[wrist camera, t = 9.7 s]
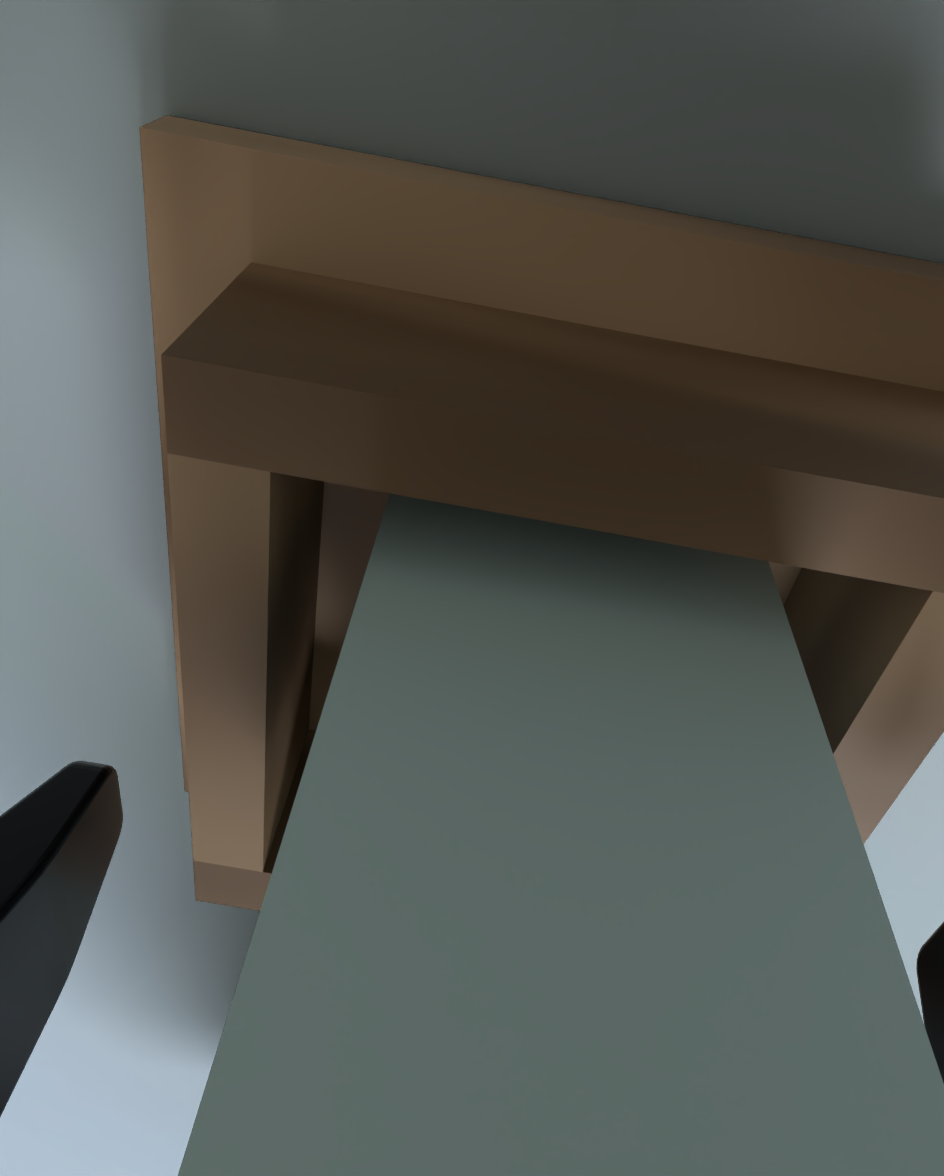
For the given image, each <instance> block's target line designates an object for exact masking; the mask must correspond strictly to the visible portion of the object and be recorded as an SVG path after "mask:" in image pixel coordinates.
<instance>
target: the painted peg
mask: <svg viewBox="0 0 944 1176" xmlns="http://www.w3.org/2000/svg"><path fill="white" fill-rule="evenodd" d="M178 1176H944V1083H943V1080H942V1077H941V1074H940V1071H939V1068H938V1065H937V1062H936V1059H935V1056H934V1053H933V1050H932V1047H931V1044H930V1041H929V1038H928V1035H927V1032H926V1029H925V1026H924V1023H923V1020H922V1017H921V1014H920V1011H919V1008H918V1005H917V1003H916V1000H915V997H914V994H913V991H912V988H911V985H910V982H909V979H908V976H907V973H906V970H905V967H904V964H903V961H902V958H901V955H900V952H899V949H898V946H897V943H896V940H895V937H894V934H893V931H892V928H891V925H890V922H889V919H888V916H887V913H886V910H885V907H884V904H883V901H882V898H881V895H880V892H879V889H878V886H877V883H876V880H875V877H874V874H873V872H872V869H871V866H870V863H869V860H868V857H867V854H866V851H865V848H864V845H863V842H862V839H861V836H860V833H859V830H858V827H857V824H856V821H855V818H854V815H853V812H852V809H851V806H850V803H849V800H848V797H847V794H846V791H845V788H844V785H843V782H842V779H841V776H840V773H839V770H838V767H837V764H836V761H835V758H834V755H833V752H832V749H831V746H830V743H829V740H828V738H827V735H826V732H825V729H824V726H823V723H822V720H821V717H820V714H819V711H818V708H817V705H816V702H815V699H814V696H813V693H812V690H811V687H810V684H809V681H808V678H807V675H806V672H805V669H804V666H803V663H802V660H801V657H800V654H799V651H798V648H797V645H796V642H795V639H794V636H793V633H792V630H791V627H790V624H789V621H788V618H787V615H786V612H785V609H784V607H783V604H782V601H781V598H780V595H779V592H778V589H777V586H776V583H775V580H774V577H773V574H772V571H771V568H770V565H769V562H768V561H763V560H757V559H751V558H746V557H740V556H735V555H729V554H724V553H718V552H713V551H707V550H701V549H696V548H690V547H685V546H679V545H674V544H668V543H663V542H657V541H651V540H646V539H640V538H635V537H629V536H624V535H618V534H613V533H607V532H601V531H596V530H590V529H585V528H579V527H574V526H568V525H563V524H557V523H552V522H546V521H540V520H535V519H529V518H524V517H518V516H513V515H507V514H502V513H496V512H490V511H485V510H479V509H474V508H468V507H463V506H457V505H452V504H446V503H440V502H435V501H429V500H424V499H418V498H413V497H407V496H402V495H396V494H391V493H390V495H389V498H388V501H387V504H386V508H385V511H384V514H383V517H382V520H381V524H380V527H379V530H378V533H377V537H376V540H375V543H374V546H373V549H372V553H371V556H370V559H369V562H368V566H367V569H366V572H365V575H364V578H363V582H362V585H361V588H360V591H359V594H358V598H357V601H356V604H355V607H354V611H353V614H352V617H351V620H350V623H349V627H348V630H347V633H346V636H345V640H344V643H343V646H342V649H341V652H340V656H339V659H338V662H337V665H336V668H335V672H334V675H333V678H332V681H331V685H330V688H329V691H328V694H327V697H326V701H325V704H324V707H323V710H322V714H321V717H320V720H319V723H318V726H317V730H316V733H315V736H314V739H313V742H312V746H311V749H310V752H309V755H308V759H307V762H306V765H305V768H304V771H303V775H302V778H301V781H300V784H299V788H298V791H297V794H296V797H295V800H294V804H293V807H292V810H291V813H290V816H289V820H288V823H287V826H286V829H285V833H284V836H283V839H282V842H281V845H280V849H279V852H278V855H277V858H276V861H275V865H274V868H273V871H272V874H271V878H270V881H269V884H268V887H267V890H266V894H265V897H264V900H263V903H262V907H261V910H260V913H259V916H258V919H257V923H256V926H255V929H254V932H253V935H252V939H251V942H250V945H249V948H248V952H247V955H246V958H245V961H244V964H243V968H242V971H241V974H240V977H239V981H238V984H237V987H236V990H235V993H234V997H233V1000H232V1003H231V1006H230V1009H229V1013H228V1016H227V1019H226V1022H225V1026H224V1029H223V1032H222V1035H221V1038H220V1042H219V1045H218V1048H217V1051H216V1055H215V1058H214V1061H213V1064H212V1067H211V1071H210V1074H209V1077H208V1080H207V1083H206V1087H205V1090H204V1093H203V1096H202V1100H201V1103H200V1106H199V1109H198V1112H197V1116H196V1119H195V1122H194V1125H193V1129H192V1132H191V1135H190V1138H189V1141H188V1145H187V1148H186V1151H185V1154H184V1157H183V1161H182V1164H181V1167H180V1170H179V1174H178Z"/></svg>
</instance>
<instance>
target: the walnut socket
mask: <svg viewBox="0 0 944 1176" xmlns="http://www.w3.org/2000/svg"><path fill="white" fill-rule="evenodd" d="M139 129H140V143H141V158H142V173H143V187H144V202H145V217H146V231H147V246H148V261H149V275H150V290H151V305H152V319H153V334H154V349H155V363H156V378H157V393H158V407H159V422H160V437H161V451H162V466H163V481H164V495H165V510H166V525H167V539H168V554H169V569H170V583H171V598H172V613H173V627H174V642H175V657H176V671H177V686H178V701H179V715H180V730H181V745H182V759H183V774H184V789H185V791H187V792H189V802H190V818H191V834H192V849H193V865H194V881H195V897H196V900H197V901H203V902H209V903H215V904H221V905H227V906H233V907H239V908H245V909H251V910H257V911H260V910H261V907H262V903H263V900H264V897H265V894H266V890H267V887H268V884H269V881H270V878H271V874H272V871H273V868H274V865H275V861H276V858H277V855H278V852H279V849H280V845H281V842H282V839H283V836H284V833H285V829H286V826H287V823H288V820H289V816H290V813H291V810H292V807H293V804H294V800H295V797H296V794H297V791H298V788H299V784H300V781H301V778H302V775H303V771H304V768H305V765H306V762H307V759H308V755H309V752H310V749H311V746H312V742H313V739H314V736H315V733H316V730H317V726H318V723H319V720H320V717H321V714H322V710H323V707H324V704H325V701H326V697H327V694H328V691H329V688H330V685H331V681H332V678H333V675H334V672H335V668H336V665H337V662H338V659H339V656H340V652H341V649H342V646H343V643H344V640H345V636H346V633H347V630H348V627H349V623H350V620H351V617H352V614H353V611H354V607H355V604H356V601H357V598H358V594H359V591H360V588H361V585H362V582H363V578H364V575H365V572H366V569H367V566H368V562H369V559H370V556H371V553H372V549H373V546H374V543H375V540H376V537H377V533H378V530H379V527H380V524H381V520H382V517H383V514H384V511H385V508H386V504H387V501H388V498H389V495H390V493H391V494H396V495H402V496H407V497H413V498H418V499H424V500H429V501H435V502H440V503H446V504H452V505H457V506H463V507H468V508H474V509H479V510H485V511H490V512H496V513H502V514H507V515H513V516H518V517H524V518H529V519H535V520H540V521H546V522H552V523H557V524H563V525H568V526H574V527H579V528H585V529H590V530H596V531H601V532H607V533H613V534H618V535H624V536H629V537H635V538H640V539H646V540H651V541H657V542H663V543H668V544H674V545H679V546H685V547H690V548H696V549H701V550H707V551H713V552H718V553H724V554H729V555H735V556H740V557H746V558H751V559H757V560H763V561H768V562H769V565H770V568H771V571H772V574H773V577H774V580H775V583H776V586H777V589H778V592H779V595H780V598H781V601H782V604H783V607H784V609H785V612H786V615H787V618H788V621H789V624H790V627H791V630H792V633H793V636H794V639H795V642H796V645H797V648H798V651H799V654H800V657H801V660H802V663H803V666H804V669H805V672H806V675H807V678H808V681H809V684H810V687H811V690H812V693H813V696H814V699H815V702H816V705H817V708H818V711H819V714H820V717H821V720H822V723H823V726H824V729H825V732H826V735H827V738H828V740H829V743H830V746H831V749H832V752H833V755H834V758H835V761H836V764H837V767H838V770H839V773H840V776H841V779H842V782H843V785H844V788H845V791H846V794H847V797H848V800H849V803H850V806H851V809H852V812H853V815H854V818H855V821H856V824H857V827H858V830H859V833H860V836H861V839H862V842H863V844H864V843H865V841H866V840H867V839H868V837H869V836H870V834H871V833H872V832H873V830H874V829H875V827H876V826H877V825H878V823H879V822H880V820H881V819H882V818H883V816H884V815H885V813H886V812H887V810H888V809H889V808H890V806H891V805H892V803H893V802H894V801H895V799H896V798H897V796H898V795H899V794H900V792H901V791H902V789H903V788H904V787H905V785H906V784H907V782H908V781H909V780H910V778H911V777H912V775H913V774H914V773H915V771H916V770H917V768H918V767H919V765H920V764H921V763H922V761H923V760H924V758H925V757H926V756H927V754H928V753H929V751H930V750H931V749H932V747H933V746H934V744H935V743H936V742H937V740H938V739H939V737H940V736H941V735H942V733H943V732H944V264H941V263H936V262H930V261H925V260H920V259H915V258H909V257H904V256H899V255H894V254H889V253H883V252H878V251H873V250H868V249H862V248H857V247H852V246H847V245H842V244H836V243H831V242H826V241H821V240H815V239H810V238H805V237H800V236H795V235H789V234H784V233H779V232H774V231H768V230H763V229H758V228H753V227H748V226H742V225H737V224H732V223H727V222H721V221H716V220H711V219H706V218H701V217H695V216H690V215H685V214H680V213H675V212H669V211H664V210H659V209H654V208H648V207H643V206H638V205H633V204H628V203H622V202H617V201H612V200H607V199H601V198H596V197H591V196H586V195H581V194H575V193H570V192H565V191H560V190H554V189H549V188H544V187H539V186H534V185H528V184H523V183H518V182H513V181H507V180H502V179H497V178H492V177H487V176H481V175H476V174H471V173H466V172H460V171H455V170H450V169H445V168H440V167H434V166H429V165H424V164H419V163H414V162H408V161H403V160H398V159H393V158H387V157H382V156H377V155H372V154H367V153H361V152H356V151H351V150H346V149H340V148H335V147H330V146H325V145H320V144H314V143H309V142H304V141H299V140H293V139H288V138H283V137H278V136H273V135H267V134H262V133H257V132H252V131H246V130H241V129H236V128H231V127H226V126H220V125H215V124H210V123H205V122H199V121H194V120H189V119H184V118H179V117H173V116H168V115H166V116H164V117H162V118H159V119H157V120H155V121H153V122H150V123H148V124H146V125H143V126H141V127H139Z"/></svg>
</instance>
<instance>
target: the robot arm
mask: <svg viewBox="0 0 944 1176" xmlns="http://www.w3.org/2000/svg"><path fill="white" fill-rule="evenodd" d="M122 822H123V812H122V805H121V797H120V790H119V783H118V776H117V772H116V770H115V769H114V768H113V767H112V766H109V765H104V764H98V763H93V762H87V761H76V762H72V763H70V764H68V765H67V766H65V767H64V768H63V769H61V770H60V771H59V772H58V773H56V774H55V775H54V776H52V777H51V778H50V779H48V780H47V781H46V782H44V783H43V784H42V785H40V786H39V787H38V788H36V789H35V790H34V791H33V792H31V793H30V794H29V795H27V796H26V797H25V798H23V799H22V800H21V801H19V802H18V803H17V804H15V805H14V806H13V807H11V808H10V809H9V810H7V811H6V812H5V813H4V814H2V815H1V816H0V1117H1V1115H2V1112H3V1110H4V1108H5V1106H6V1104H7V1102H8V1100H9V1098H10V1096H11V1094H12V1092H13V1090H14V1088H15V1086H16V1084H17V1082H18V1080H19V1078H20V1076H21V1074H22V1072H23V1069H24V1067H25V1065H26V1063H27V1061H28V1059H29V1057H30V1055H31V1053H32V1051H33V1049H34V1047H35V1045H36V1043H37V1041H38V1039H39V1037H40V1035H41V1033H42V1031H43V1029H44V1026H45V1024H46V1022H47V1020H48V1018H49V1016H50V1014H51V1012H52V1010H53V1008H54V1006H55V1004H56V1002H57V1000H58V998H59V996H60V993H61V991H62V989H63V987H64V985H65V982H66V980H67V978H68V976H69V973H70V971H71V968H72V965H73V963H74V960H75V958H76V955H77V952H78V950H79V947H80V944H81V941H82V938H83V936H84V933H85V930H86V927H87V925H88V922H89V919H90V916H91V914H92V911H93V908H94V905H95V902H96V900H97V897H98V894H99V891H100V889H101V886H102V883H103V880H104V877H105V875H106V872H107V869H108V866H109V864H110V861H111V858H112V855H113V853H114V850H115V847H116V844H117V841H118V839H119V836H120V832H121V828H122ZM917 977H918V984H919V991H920V998H921V1005H922V1012H923V1020H924V1026H925V1029H926V1032H927V1035H928V1038H929V1041H930V1044H931V1047H932V1050H933V1053H934V1056H935V1059H936V1062H937V1065H938V1068H939V1071H940V1074H941V1077H942V1080H943V1083H944V922H943V923H942V924H941V925H940V927H939V928H938V929H937V930H936V931H935V932H934V933H933V934H932V936H931V937H930V938H929V939H928V940H927V941H926V942H925V944H924V945H923V946H922V947H921V949H920V951H919V954H918V958H917Z"/></svg>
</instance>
